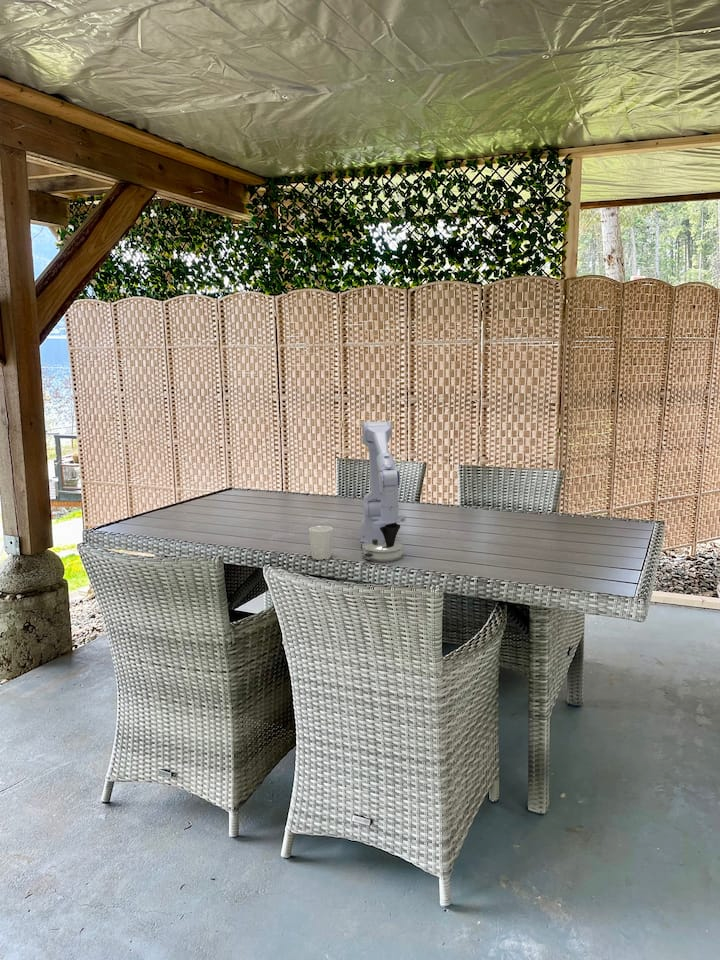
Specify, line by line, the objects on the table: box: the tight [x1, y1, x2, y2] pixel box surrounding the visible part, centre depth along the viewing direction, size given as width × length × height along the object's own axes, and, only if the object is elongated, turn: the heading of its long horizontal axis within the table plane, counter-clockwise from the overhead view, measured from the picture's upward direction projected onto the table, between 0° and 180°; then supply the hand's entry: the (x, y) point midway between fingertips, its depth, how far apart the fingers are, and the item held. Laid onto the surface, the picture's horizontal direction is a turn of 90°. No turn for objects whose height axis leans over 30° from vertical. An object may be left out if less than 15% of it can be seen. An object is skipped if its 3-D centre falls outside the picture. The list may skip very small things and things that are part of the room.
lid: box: [361, 539, 404, 553], centre depth 231 cm, size 14×14×2 cm
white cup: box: [308, 525, 334, 561], centre depth 232 cm, size 8×8×10 cm
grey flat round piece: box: [360, 543, 403, 563], centre depth 232 cm, size 15×16×3 cm
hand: (390, 546), depth 229 cm, fingers closed, pressing on lid
